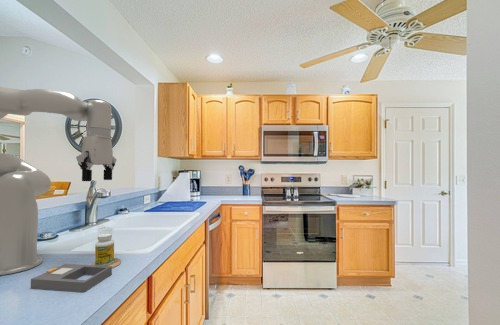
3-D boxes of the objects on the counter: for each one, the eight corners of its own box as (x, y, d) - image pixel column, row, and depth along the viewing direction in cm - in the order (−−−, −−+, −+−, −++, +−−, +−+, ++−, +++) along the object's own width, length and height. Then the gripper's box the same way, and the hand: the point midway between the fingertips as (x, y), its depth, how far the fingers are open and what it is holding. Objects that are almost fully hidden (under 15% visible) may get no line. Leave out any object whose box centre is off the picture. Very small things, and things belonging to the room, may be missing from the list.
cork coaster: (82, 270, 71) (82, 268, 71) (103, 259, 80) (103, 257, 80) (107, 271, 70) (107, 269, 70) (126, 260, 79) (126, 258, 79)
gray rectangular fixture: (30, 288, 61) (30, 277, 61) (65, 271, 70) (65, 262, 71) (83, 292, 59) (84, 281, 59) (111, 274, 69) (111, 265, 69)
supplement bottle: (113, 259, 79) (114, 231, 79) (114, 264, 74) (114, 235, 75) (95, 262, 76) (95, 234, 76) (94, 268, 71) (95, 238, 72)
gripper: (107, 137, 92) (106, 179, 91) (68, 130, 75) (66, 181, 74) (124, 137, 91) (123, 179, 90) (88, 130, 74) (87, 181, 73)
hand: (97, 180), depth 82 cm, fingers open, 9 cm apart
